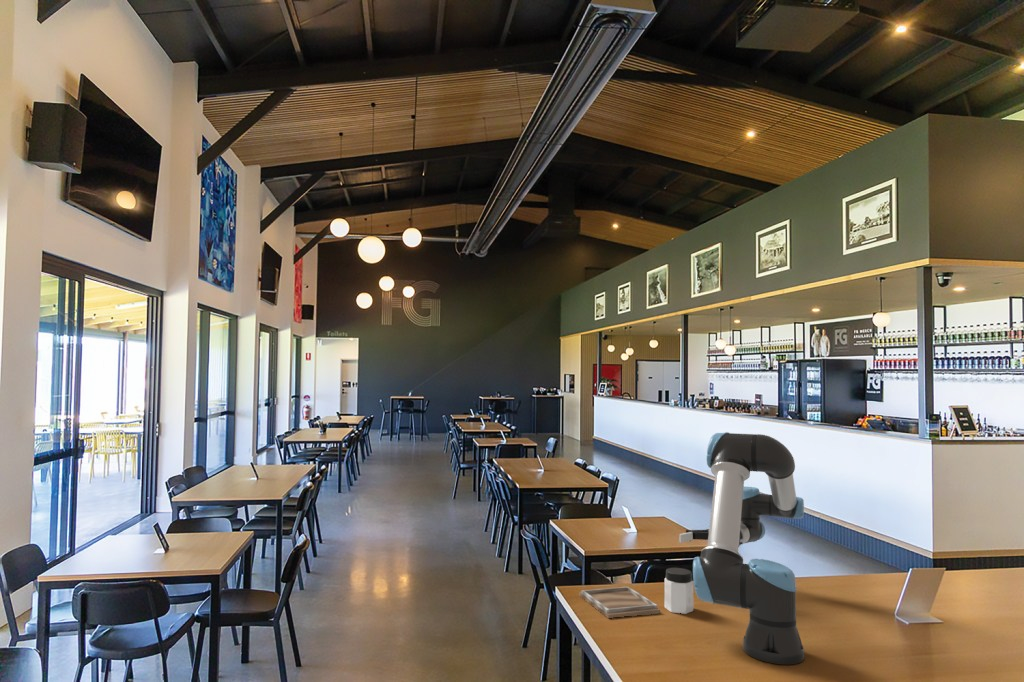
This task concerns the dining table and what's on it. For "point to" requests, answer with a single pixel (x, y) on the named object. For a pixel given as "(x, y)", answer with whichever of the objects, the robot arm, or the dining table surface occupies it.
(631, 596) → the tray
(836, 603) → the dining table surface
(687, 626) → the dining table surface
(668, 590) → the jar
